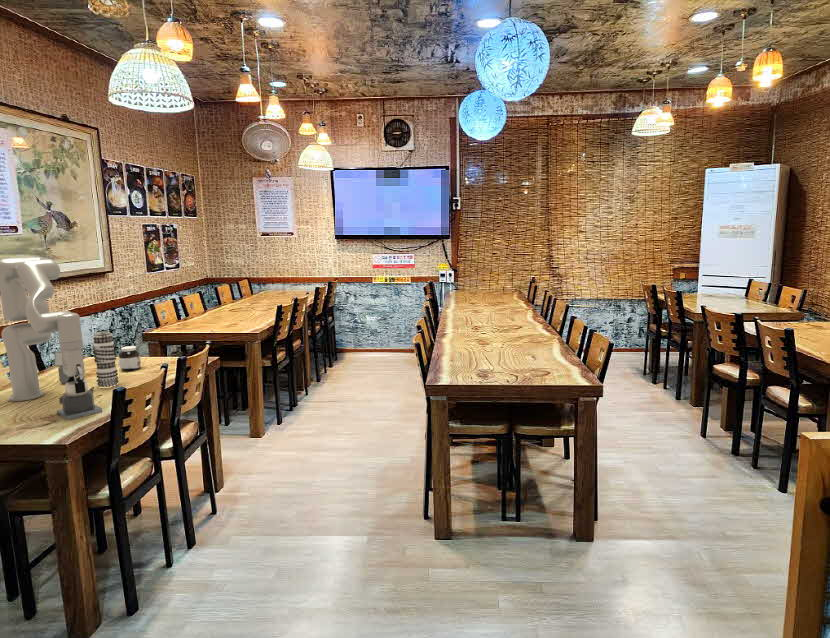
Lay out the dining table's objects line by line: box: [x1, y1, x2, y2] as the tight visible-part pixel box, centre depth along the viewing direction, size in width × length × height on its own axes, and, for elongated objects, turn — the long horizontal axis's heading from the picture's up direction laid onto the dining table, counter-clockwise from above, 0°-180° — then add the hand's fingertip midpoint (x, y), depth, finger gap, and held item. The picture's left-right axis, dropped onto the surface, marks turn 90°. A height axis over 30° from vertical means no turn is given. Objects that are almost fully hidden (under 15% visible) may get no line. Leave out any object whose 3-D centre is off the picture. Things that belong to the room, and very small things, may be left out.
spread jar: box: [117, 345, 142, 372], centre depth 282 cm, size 12×11×12 cm
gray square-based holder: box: [56, 389, 103, 421], centre depth 214 cm, size 12×12×8 cm
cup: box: [64, 379, 89, 397], centre depth 213 cm, size 7×7×8 cm
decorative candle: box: [92, 330, 120, 388], centre depth 250 cm, size 9×9×25 cm
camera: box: [53, 351, 86, 384], centre depth 261 cm, size 9×12×15 cm
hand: (77, 390), depth 213 cm, fingers closed on cup, 7 cm apart
